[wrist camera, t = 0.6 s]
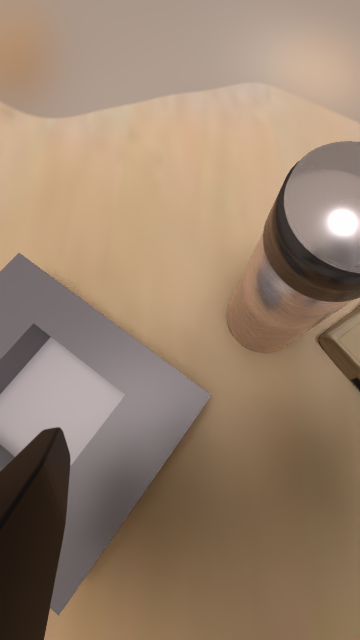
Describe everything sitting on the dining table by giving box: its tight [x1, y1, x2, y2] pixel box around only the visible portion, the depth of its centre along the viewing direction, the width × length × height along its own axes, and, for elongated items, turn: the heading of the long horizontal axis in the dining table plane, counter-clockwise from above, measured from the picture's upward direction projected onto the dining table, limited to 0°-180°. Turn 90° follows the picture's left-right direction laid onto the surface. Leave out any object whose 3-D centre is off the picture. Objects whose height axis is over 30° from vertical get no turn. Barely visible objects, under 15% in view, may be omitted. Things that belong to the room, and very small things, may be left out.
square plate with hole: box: [0, 253, 211, 615], centre depth 20 cm, size 14×12×4 cm
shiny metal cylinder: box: [227, 141, 360, 353], centre depth 18 cm, size 5×5×13 cm
